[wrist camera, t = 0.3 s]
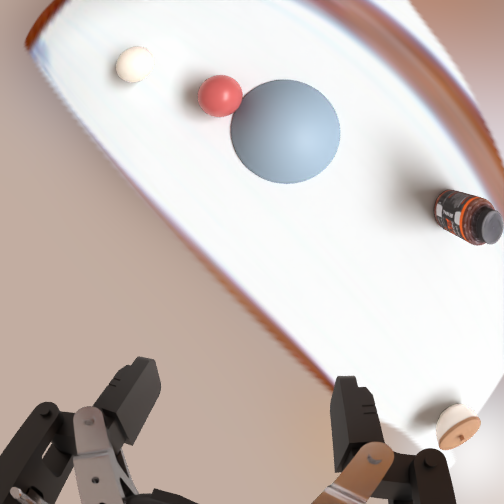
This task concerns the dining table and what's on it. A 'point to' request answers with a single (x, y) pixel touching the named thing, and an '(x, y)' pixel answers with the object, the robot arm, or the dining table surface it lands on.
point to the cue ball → (135, 64)
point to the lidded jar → (456, 426)
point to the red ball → (220, 96)
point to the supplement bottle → (468, 217)
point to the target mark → (285, 131)
